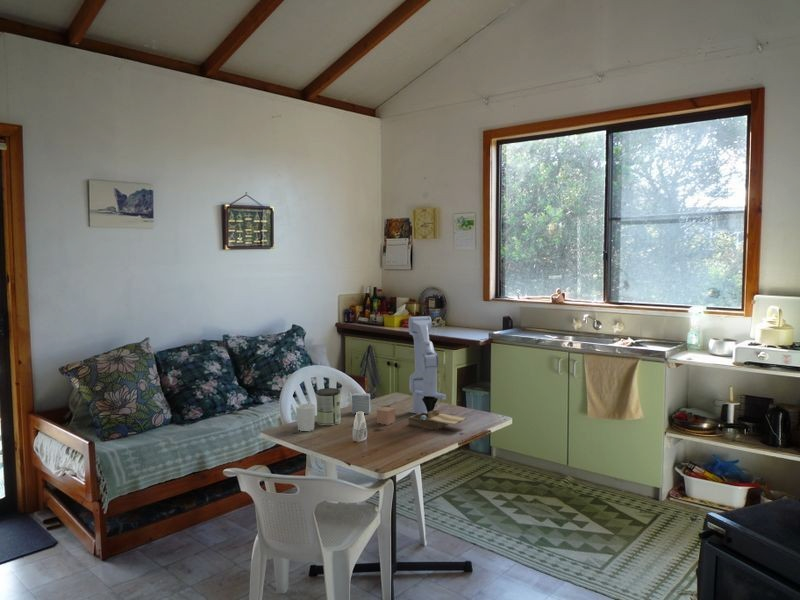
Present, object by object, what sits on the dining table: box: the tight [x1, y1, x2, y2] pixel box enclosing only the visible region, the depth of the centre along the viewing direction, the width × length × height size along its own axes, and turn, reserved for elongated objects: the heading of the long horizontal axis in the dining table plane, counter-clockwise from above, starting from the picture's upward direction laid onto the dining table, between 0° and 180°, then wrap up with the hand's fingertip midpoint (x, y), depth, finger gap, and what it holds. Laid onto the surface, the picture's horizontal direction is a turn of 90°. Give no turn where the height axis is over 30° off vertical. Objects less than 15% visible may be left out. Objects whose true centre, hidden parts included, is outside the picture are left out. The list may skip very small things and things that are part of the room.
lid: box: [425, 408, 467, 426], centre depth 257 cm, size 10×14×3 cm
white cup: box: [295, 403, 316, 432], centre depth 257 cm, size 8×8×10 cm
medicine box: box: [351, 392, 372, 415], centre depth 282 cm, size 8×4×9 cm, turn 84°
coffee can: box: [315, 387, 342, 426], centre depth 267 cm, size 10×10×14 cm
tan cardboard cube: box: [376, 406, 396, 426], centre depth 266 cm, size 6×6×6 cm
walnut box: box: [408, 412, 449, 431], centre depth 263 cm, size 10×14×3 cm
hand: (430, 414), depth 262 cm, fingers closed
